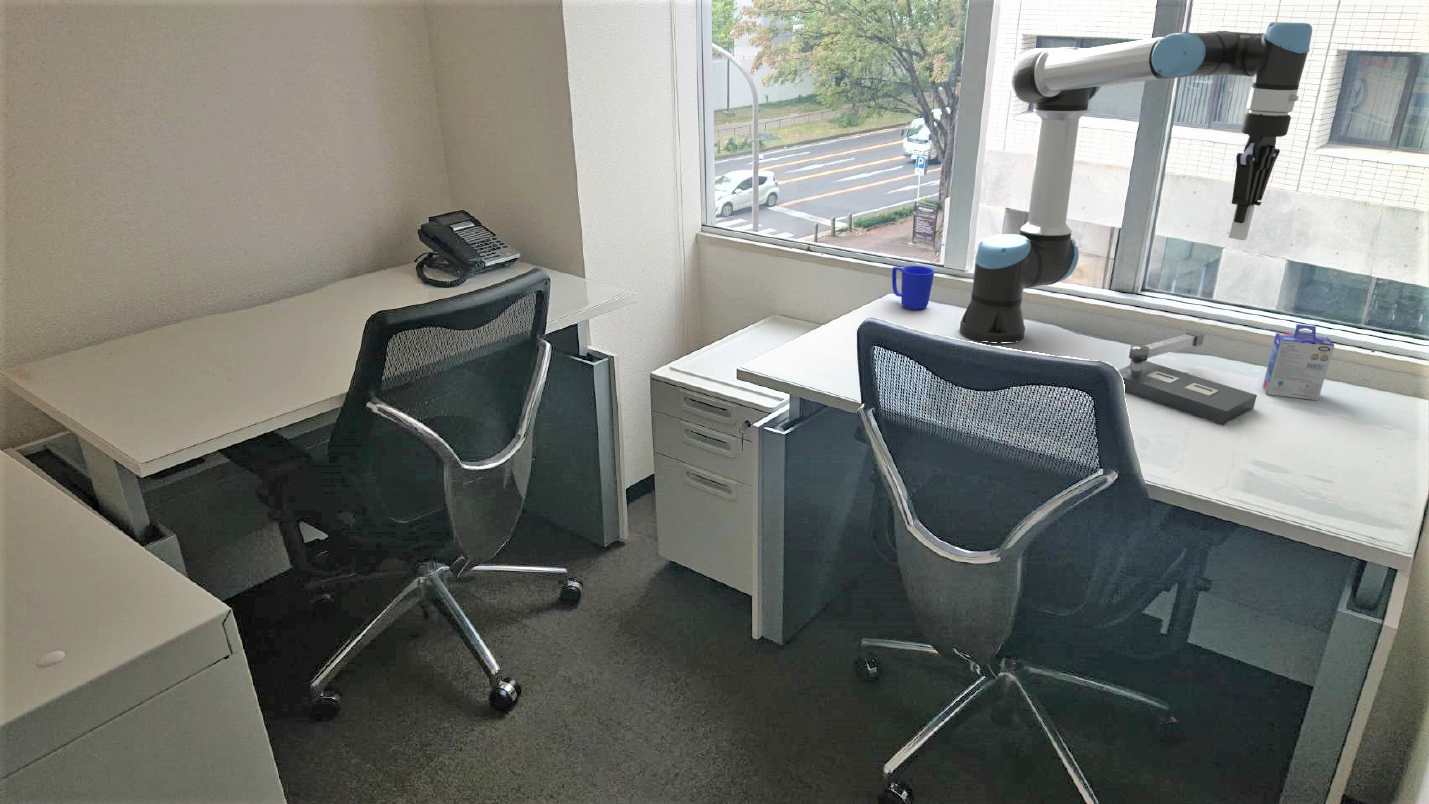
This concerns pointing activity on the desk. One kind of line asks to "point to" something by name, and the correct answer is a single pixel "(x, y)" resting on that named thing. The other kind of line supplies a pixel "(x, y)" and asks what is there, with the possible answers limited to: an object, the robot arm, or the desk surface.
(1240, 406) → the slab
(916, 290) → the mug
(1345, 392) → the desk surface
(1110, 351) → the desk surface
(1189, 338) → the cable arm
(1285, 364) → the ink cartridge box
